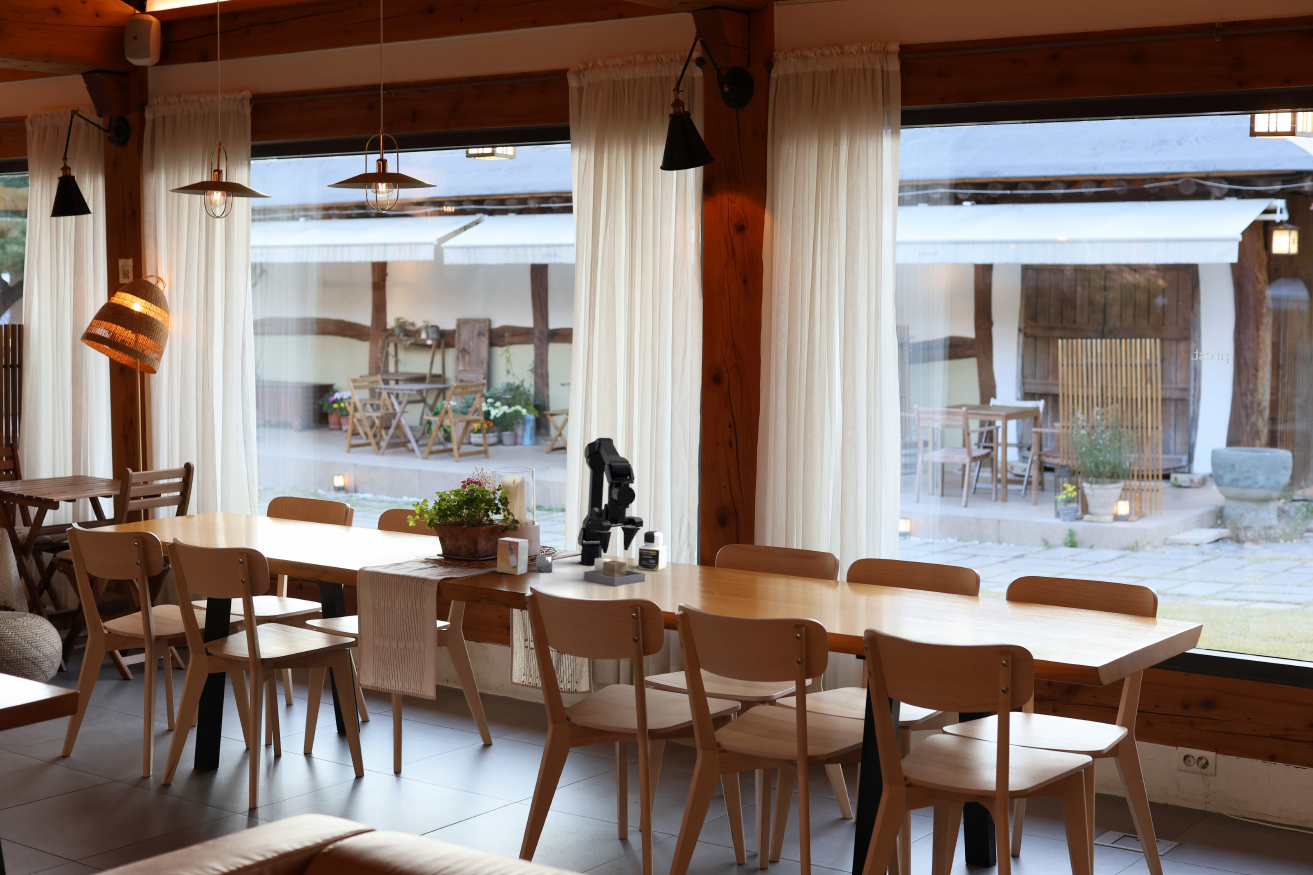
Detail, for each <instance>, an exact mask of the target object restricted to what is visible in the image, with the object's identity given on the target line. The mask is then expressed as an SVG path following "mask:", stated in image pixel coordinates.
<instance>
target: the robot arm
mask: <svg viewBox="0 0 1313 875" xmlns="http://www.w3.org/2000/svg"><path fill="white" fill-rule="evenodd" d="M584 459H585V464H586V466H587V467H588V469H589V483H588V484H589V485H588V486H589V487H588V489H589V490H588V504H587V507H588V508H587V514H586V516H585V517H584V518H583V520H582V523H581V524H582V525H581V527H580V530H579V533H578V536H577V544H578V545H579V546H580V547H581V550H580V560H579V561H577V563H578V564H583V565H587V566H595V558H603V557H602V555H603V554H607V552H608V550H609V546H610V540H611V535H612V531H611V529H612V528H617V527H620V528H621V531H622V533H623V550H624V551H628V550H629V547H630V546H631V544H632V542H633V540H634V538H635V537H636V535H637V533H638V531H640V530H641V528H643V527H644V520H643V518H642V517H640V516H633V515H627V509H630V505H632V503H634V501H635V500H636V492H635V490H634V488H632V487H630V484H631V485H633V484H634V483H635V482H634V481H635V478H636V477H635V475H634V474H635V473H634V471H633V467H632V464H631V463H630V461H629V460H628V459H627V458H626V457H624V456H621V455H620V454H619V452H618V450H617V448H616V447H615V444H614V439H613V438H611V437H598V438H596V439H595V440H593V441H591V442H589V443H587V445H586V446H585V448H584ZM604 477H605V478H606V481H607V483H608V486H607V503H605V504H604V506H603V498H604V497H603V496H604V484H605V483H604V481H605V478H604ZM602 553H603V554H602Z"/></svg>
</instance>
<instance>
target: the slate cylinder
mask: <svg viewBox="0 0 1313 875" xmlns="http://www.w3.org/2000/svg"><path fill="white" fill-rule="evenodd" d="M535 564H536V565H535V571H536V573H540V574H551V573H553V555H552V554H537V555H536V563H535Z"/></svg>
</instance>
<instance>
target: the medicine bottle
mask: <svg viewBox="0 0 1313 875" xmlns="http://www.w3.org/2000/svg"><path fill="white" fill-rule="evenodd" d="M663 536H664V534H663V533H662V532H660V531H656V530H655V531H654V530H649V531H646V532H644V534H643V544H644V545H642V546H639V547H638V563H637V564H638V567H637V568H638V569H639V570H646V571H654V572H655V571H656V572H658V571H662V570H664V569H666V568H667V560H668V559H667V558H668V557H667V556H668V546H667V545H663V543H664V542H663V538H664V537H663Z"/></svg>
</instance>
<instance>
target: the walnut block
mask: <svg viewBox="0 0 1313 875" xmlns="http://www.w3.org/2000/svg"><path fill="white" fill-rule="evenodd" d="M626 570H627V562H626V561H625V562H624V561H619V560H616V559H615V560H611V561H607V562H603V575H604V576H609V577H613V578H617V577H623V576H626Z"/></svg>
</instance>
